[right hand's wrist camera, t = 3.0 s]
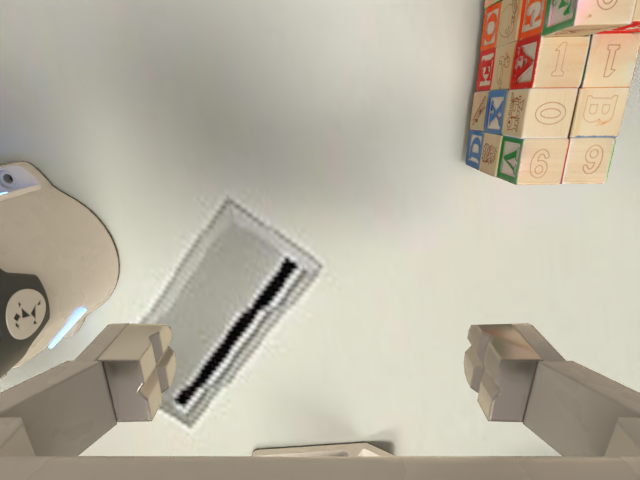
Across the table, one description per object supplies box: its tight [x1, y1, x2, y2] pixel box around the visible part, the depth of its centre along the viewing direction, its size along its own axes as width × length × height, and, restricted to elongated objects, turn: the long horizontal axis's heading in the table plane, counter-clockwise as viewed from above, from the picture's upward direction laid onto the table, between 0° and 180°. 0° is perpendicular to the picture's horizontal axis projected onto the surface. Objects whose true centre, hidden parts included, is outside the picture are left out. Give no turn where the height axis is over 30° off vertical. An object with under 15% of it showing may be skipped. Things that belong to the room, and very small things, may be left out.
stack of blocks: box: [466, 0, 640, 185], centre depth 25 cm, size 21×6×12 cm, turn 0°
